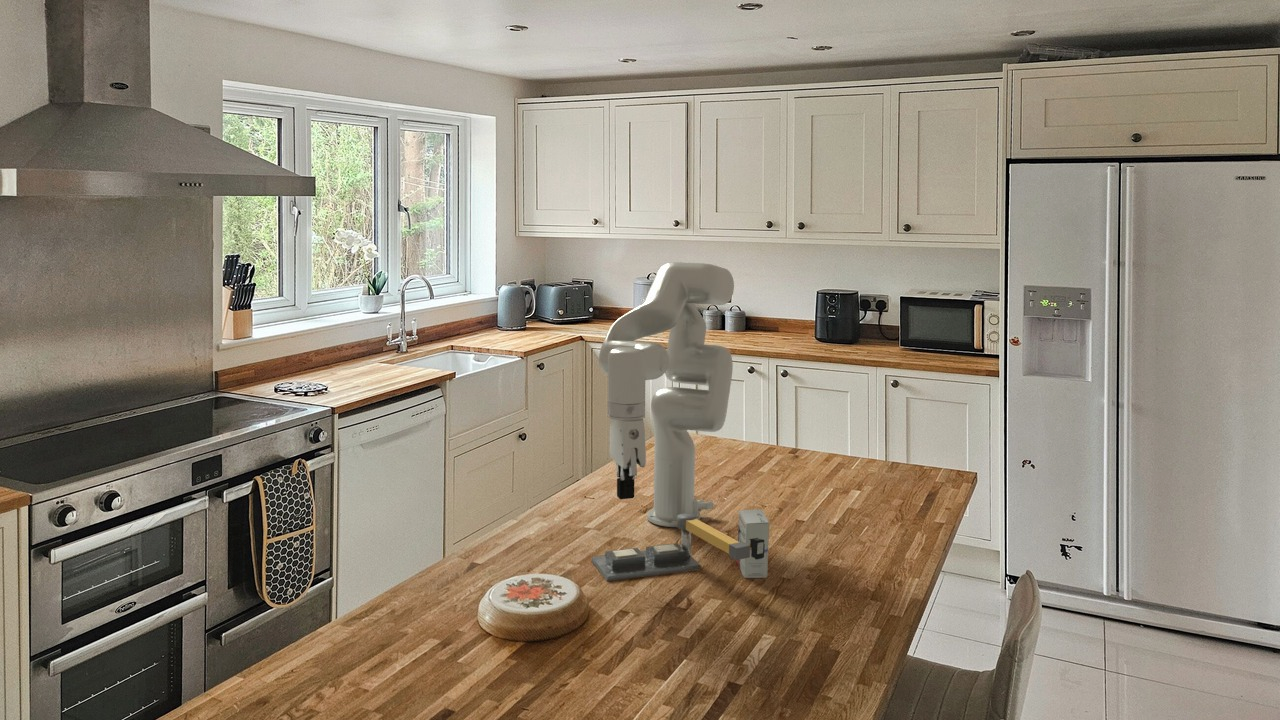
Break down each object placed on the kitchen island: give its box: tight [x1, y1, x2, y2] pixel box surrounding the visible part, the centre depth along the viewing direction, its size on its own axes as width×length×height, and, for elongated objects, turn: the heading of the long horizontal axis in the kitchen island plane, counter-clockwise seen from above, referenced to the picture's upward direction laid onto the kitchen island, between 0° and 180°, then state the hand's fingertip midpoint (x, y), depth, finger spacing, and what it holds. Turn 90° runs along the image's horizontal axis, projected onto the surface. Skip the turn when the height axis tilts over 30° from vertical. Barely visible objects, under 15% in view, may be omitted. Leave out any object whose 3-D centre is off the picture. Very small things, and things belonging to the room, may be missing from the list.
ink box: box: [736, 508, 770, 579], centre depth 199 cm, size 9×5×12 cm, turn 5°
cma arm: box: [676, 514, 750, 561], centre depth 195 cm, size 22×4×2 cm, turn 30°
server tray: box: [591, 529, 701, 582], centre depth 201 cm, size 20×11×7 cm, turn 109°
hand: (625, 497), depth 197 cm, fingers closed
